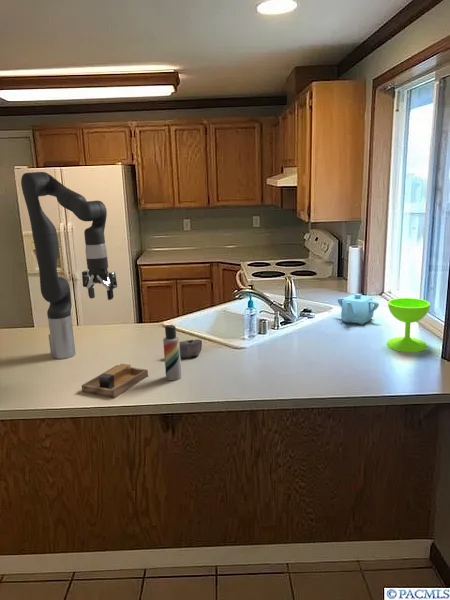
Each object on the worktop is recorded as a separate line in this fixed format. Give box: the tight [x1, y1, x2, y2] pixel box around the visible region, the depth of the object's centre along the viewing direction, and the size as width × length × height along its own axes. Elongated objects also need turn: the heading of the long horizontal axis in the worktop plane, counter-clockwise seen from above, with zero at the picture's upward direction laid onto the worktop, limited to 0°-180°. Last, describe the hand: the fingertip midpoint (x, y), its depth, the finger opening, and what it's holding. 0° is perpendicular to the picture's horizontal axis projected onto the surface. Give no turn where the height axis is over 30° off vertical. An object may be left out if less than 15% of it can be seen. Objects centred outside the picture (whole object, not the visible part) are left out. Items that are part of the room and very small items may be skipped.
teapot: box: [337, 293, 380, 326], centre depth 242 cm, size 18×16×14 cm
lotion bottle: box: [162, 324, 183, 381], centre depth 185 cm, size 6×6×20 cm
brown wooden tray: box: [81, 364, 149, 399], centre depth 184 cm, size 14×20×2 cm
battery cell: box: [98, 363, 131, 389], centre depth 184 cm, size 4×14×4 cm, turn 154°
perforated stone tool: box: [179, 338, 203, 359], centre depth 207 cm, size 15×5×7 cm, turn 96°
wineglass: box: [386, 297, 431, 353], centre depth 207 cm, size 16×16×18 cm
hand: (101, 298), depth 192 cm, fingers open, 8 cm apart
